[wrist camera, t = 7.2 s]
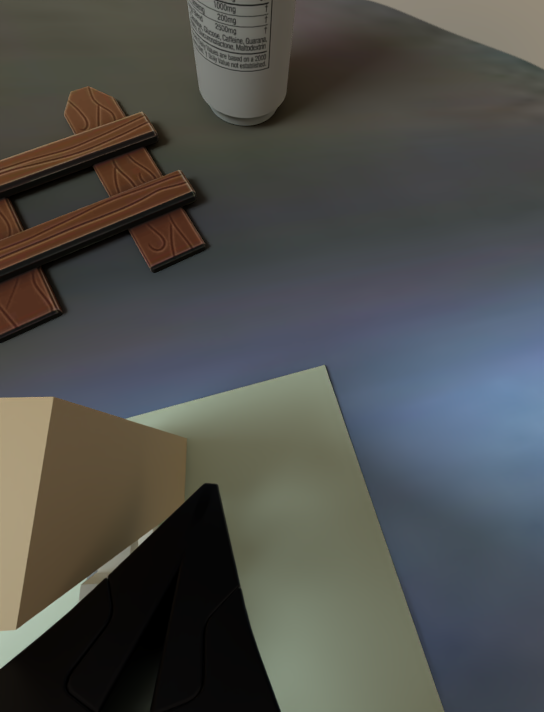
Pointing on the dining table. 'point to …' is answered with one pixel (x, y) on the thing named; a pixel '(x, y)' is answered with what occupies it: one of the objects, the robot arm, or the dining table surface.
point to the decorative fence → (89, 206)
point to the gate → (76, 498)
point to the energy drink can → (242, 55)
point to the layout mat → (296, 548)
